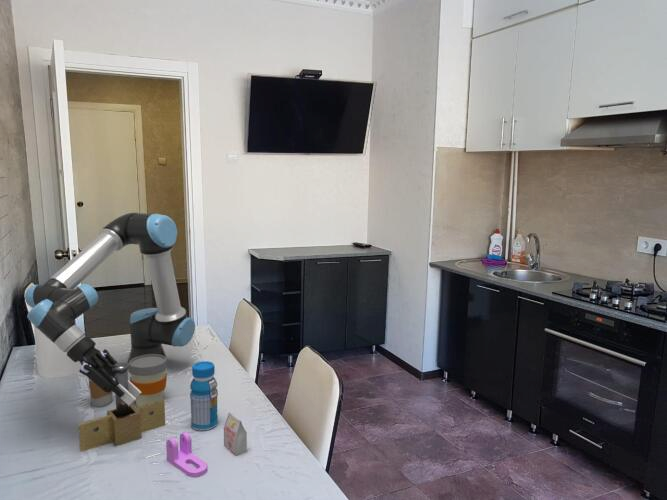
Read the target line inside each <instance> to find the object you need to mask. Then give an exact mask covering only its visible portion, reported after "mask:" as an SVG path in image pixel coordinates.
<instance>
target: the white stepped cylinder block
mask: <svg viewBox="0 0 667 500" xmlns="http://www.w3.org/2000/svg"><path fill="white" fill-rule="evenodd" d="M32 308H33V307H31V309H32ZM81 330H82V331H84V330H83V329H81ZM33 333H34V345H35V357H36V372H37V375H38V376H40V377H42V378H49V377H55V378H62V377H69V376H73V375H75V374H78V373H80V372H79V370H80V369H81V368H82V365H81V363H80V362H79V361H78V362H74V361H72V360H71V359H70V358H69V357H68V356H67V352H63V351H62V350H61V349H60V348H59V347H58V346H57V345H56V344H54V343H53V342H52V341H51V340H50V339H49V338H48V337H46V336H45V335H44V334H43V333H42V332H41V331H40V330H39V329H38V328H36V327H35V326H34V325H33Z"/></svg>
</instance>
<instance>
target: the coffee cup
mask: <svg viewBox="0 0 667 500" xmlns="http://www.w3.org/2000/svg"><path fill="white" fill-rule="evenodd" d="M112 378H113V377H112ZM113 379H114V378H113ZM88 386H89V394H90V398H91V399H90V400H91V404H92V405H93V406H94V407H97V408H101V407H106V406H109V405H110V404H111V403H112V402H113V393H114V392H113V391H111V392H110V393H108V392H105V391H103V390H102V389H101V388H100V387H99V386H98V385H96V384H95V383H94V382H93V381H92V380H91V379H89V378H88Z"/></svg>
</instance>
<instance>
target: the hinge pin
mask: <svg viewBox="0 0 667 500" xmlns="http://www.w3.org/2000/svg"><path fill="white" fill-rule="evenodd" d="M112 370H113V371H114V377H115V379H114V381H115V382H116V383H117V385H119V384H121V385H122V386H123V387H124V388H125V389H126V390H127V391H128V380H129V363H127V362H123V361H121V362H118V363H116V364H114V365H113V366H112ZM128 392H129V391H128ZM114 394H115V393H114ZM114 397H115V409H116V415H117V416H125V415H127V414H129V405H127V404H126V403H125V402H124V401H123V400H122V399H121V398H120V397H118V396H117V395H116V394H115V396H114Z"/></svg>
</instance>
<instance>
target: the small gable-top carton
mask: <svg viewBox="0 0 667 500" xmlns="http://www.w3.org/2000/svg"><path fill="white" fill-rule="evenodd" d="M247 434H248V433H247V431H246V428H245V427H244V425H243V423H242V421H241V420H240V419H239V418H238V417H237V416H235V415H234V414H233V413H231V412H228V415H227V418H226V420H225V423H224V425H223V447H224V448H226V449H227V450H228V451H229V452H230V453H232V455H234V456H235V457H237V456H239V455H242V454H244V453H247V452H248V447H247V446H248V439H247V437H248V435H247Z"/></svg>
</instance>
